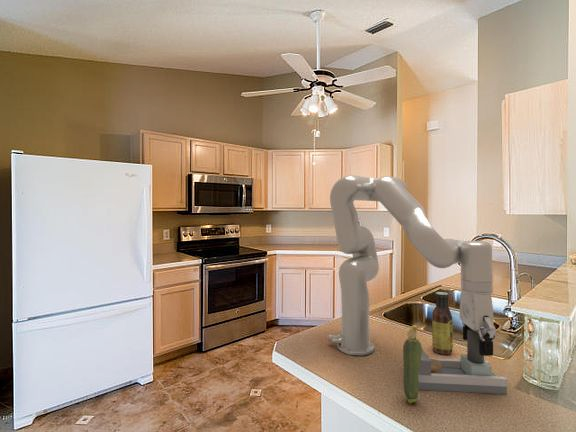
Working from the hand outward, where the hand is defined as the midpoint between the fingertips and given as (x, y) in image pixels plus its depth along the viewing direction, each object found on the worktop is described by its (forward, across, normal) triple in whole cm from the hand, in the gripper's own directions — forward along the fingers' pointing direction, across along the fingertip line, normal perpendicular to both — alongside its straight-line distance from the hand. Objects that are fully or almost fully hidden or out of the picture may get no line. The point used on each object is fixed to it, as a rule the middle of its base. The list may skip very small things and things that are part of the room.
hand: (477, 347), depth 88 cm
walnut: (+8, 0, -12) cm, 14 cm away
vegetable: (+10, +10, -20) cm, 25 cm away
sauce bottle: (+10, -19, -2) cm, 22 cm away
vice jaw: (+8, 0, 0) cm, 8 cm away
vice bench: (+10, 0, -6) cm, 12 cm away
